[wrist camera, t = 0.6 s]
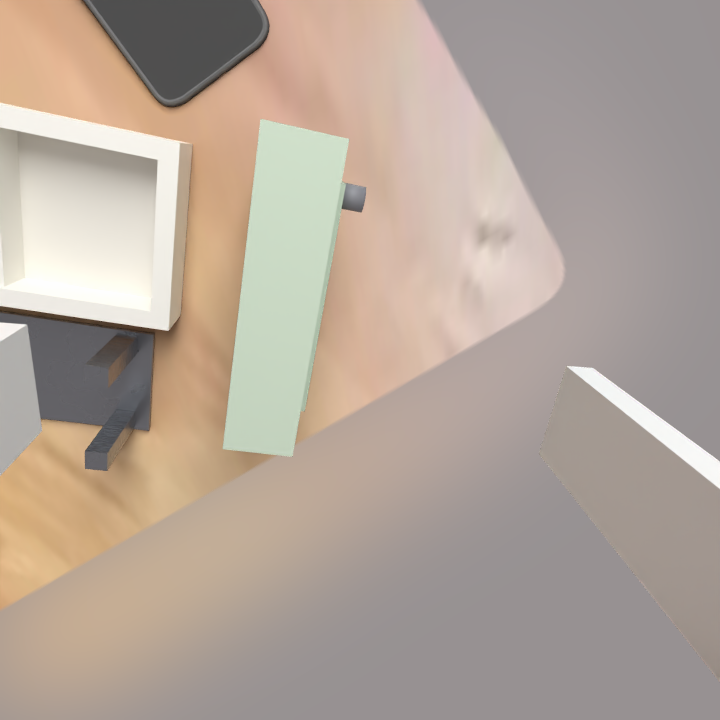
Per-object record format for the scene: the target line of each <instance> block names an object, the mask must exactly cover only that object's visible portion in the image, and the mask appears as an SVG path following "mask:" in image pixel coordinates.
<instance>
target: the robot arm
mask: <svg viewBox="0 0 720 720" xmlns="http://www.w3.org/2000/svg"><path fill="white" fill-rule="evenodd" d="M41 431H42V426H41V419H40V412H39V405H38V397H37V390H36V383H35V376H34V369H33V362H32V355H31V348H30V340H29V333H28V326H27V325H26V324H13V323H0V475H1V474H2V473H3V472H4V471H5V470H6V469H7V468H8V467H9V466H10V465H11V464H12V463H13V462H14V460H15V459H16V458H17V457H18V456H19V455H20V454H21V453H22V452H23V451H24V450H25V449H26V448H27V446H28V445H29V444H30V443H31V442H32V441H33V440H34V439H35V438H36V437H37V436H38V435H39V434H40V432H41ZM539 455H540V456H541V457H542V458H543V460H544V461H545V462H546V464H547V465H548V466H549V467H550V469H551V470H552V471H553V472H554V474H555V475H556V476H557V477H558V479H559V480H560V481H561V482H562V484H563V485H564V486H565V487H566V489H567V490H568V491H569V492H570V494H571V495H572V496H573V498H574V499H575V500H576V501H577V502H578V504H579V505H580V506H581V508H582V509H583V510H584V511H585V513H586V514H587V515H588V516H589V518H590V519H591V520H592V522H593V523H594V524H595V525H596V527H597V528H598V529H599V530H600V532H601V533H602V534H603V535H604V537H605V538H606V539H607V540H608V542H609V543H610V544H611V545H612V547H613V548H614V549H615V550H616V552H617V553H618V554H619V556H621V558H622V559H623V561H624V562H625V563H626V564H627V566H628V567H629V568H630V569H631V571H632V572H633V573H634V574H635V576H636V577H637V578H638V580H639V581H640V582H641V583H642V584H643V586H644V587H645V588H646V590H647V591H648V592H649V593H650V595H651V596H652V597H653V598H654V600H655V601H656V602H657V604H658V605H659V606H660V607H661V608H662V610H663V611H664V612H665V614H666V615H667V616H668V617H669V619H670V620H671V621H672V622H673V624H674V625H675V626H676V627H677V629H678V630H679V631H680V633H681V634H682V635H683V636H684V637H685V639H686V640H687V641H688V643H690V645H691V646H692V648H693V649H694V650H695V651H696V653H697V654H698V655H699V656H700V658H701V659H702V660H703V662H704V663H705V664H706V665H707V666H708V668H709V669H710V670H711V672H712V673H713V674H714V675H715V677H716V678H717V679H718V680H719V682H720V461H718V460H717V459H716V458H714V457H713V456H712V455H710V454H709V453H707V452H706V451H704V450H703V449H702V448H700V447H699V446H698V445H697V444H695V443H694V442H692V441H691V440H690V439H688V438H687V437H685V436H684V435H683V434H682V433H680V432H679V431H678V430H676V429H675V428H673V427H672V426H671V425H669V424H668V423H667V422H665V421H664V420H663V419H661V418H660V417H658V416H657V415H656V414H654V413H653V412H652V411H650V410H649V409H648V408H646V407H645V406H643V405H642V404H641V403H639V402H638V401H637V400H635V399H634V398H633V397H631V396H630V395H629V394H627V393H626V392H624V391H623V390H622V389H620V388H619V387H618V386H616V385H615V384H613V383H612V382H611V381H609V380H608V379H607V378H605V377H604V376H603V375H601V374H600V373H599V372H597V371H596V370H595V369H593V368H585V367H572V366H571V367H570V366H566V369H565V372H564V375H563V378H562V382H561V385H560V388H559V391H558V394H557V398H556V401H555V404H554V407H553V410H552V413H551V417H550V420H549V423H548V426H547V430H546V432H545V436H544V439H543V442H542V445H541V448H540V452H539Z"/></svg>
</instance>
